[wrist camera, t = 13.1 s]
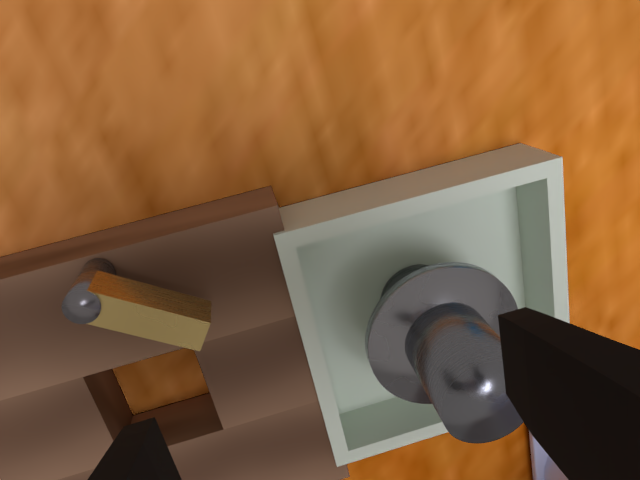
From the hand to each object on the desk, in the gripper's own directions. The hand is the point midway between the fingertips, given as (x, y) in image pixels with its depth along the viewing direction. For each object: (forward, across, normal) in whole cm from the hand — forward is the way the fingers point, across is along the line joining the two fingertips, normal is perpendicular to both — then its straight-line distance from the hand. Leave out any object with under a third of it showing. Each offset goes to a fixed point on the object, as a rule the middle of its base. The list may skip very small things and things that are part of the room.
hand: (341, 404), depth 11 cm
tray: (+10, -5, +4) cm, 12 cm away
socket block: (+10, +6, +4) cm, 12 cm away
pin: (+10, -4, +4) cm, 11 cm away
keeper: (+8, +5, -1) cm, 9 cm away
